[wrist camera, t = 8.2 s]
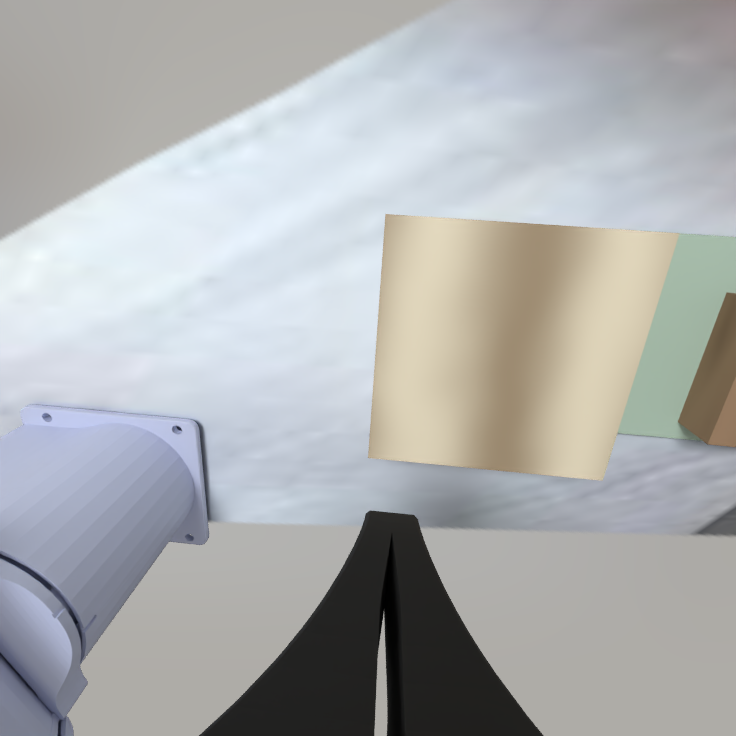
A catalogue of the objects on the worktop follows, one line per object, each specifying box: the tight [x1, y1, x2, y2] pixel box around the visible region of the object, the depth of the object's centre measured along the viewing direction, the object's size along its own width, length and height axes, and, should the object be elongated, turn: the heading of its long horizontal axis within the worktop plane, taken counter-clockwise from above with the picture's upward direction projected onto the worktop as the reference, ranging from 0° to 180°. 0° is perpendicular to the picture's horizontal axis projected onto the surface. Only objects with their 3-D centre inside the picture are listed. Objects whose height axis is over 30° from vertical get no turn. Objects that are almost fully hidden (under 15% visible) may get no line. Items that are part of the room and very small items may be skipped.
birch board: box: [368, 214, 680, 481], centre depth 17 cm, size 10×10×3 cm
